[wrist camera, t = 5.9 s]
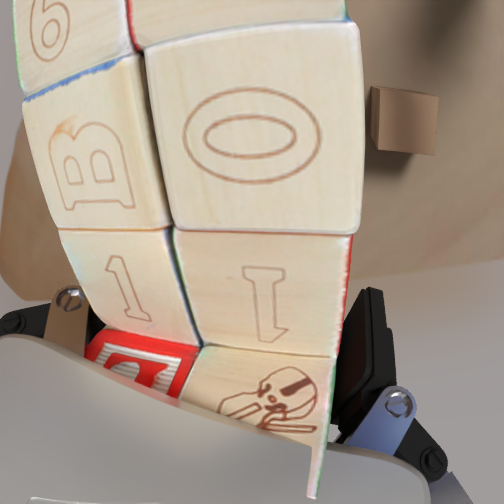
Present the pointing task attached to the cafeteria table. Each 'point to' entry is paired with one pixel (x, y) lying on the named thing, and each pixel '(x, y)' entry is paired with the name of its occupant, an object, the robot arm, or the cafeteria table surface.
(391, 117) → the walnut cube
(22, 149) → the cafeteria table surface
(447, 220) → the cafeteria table surface
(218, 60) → the stack of blocks
